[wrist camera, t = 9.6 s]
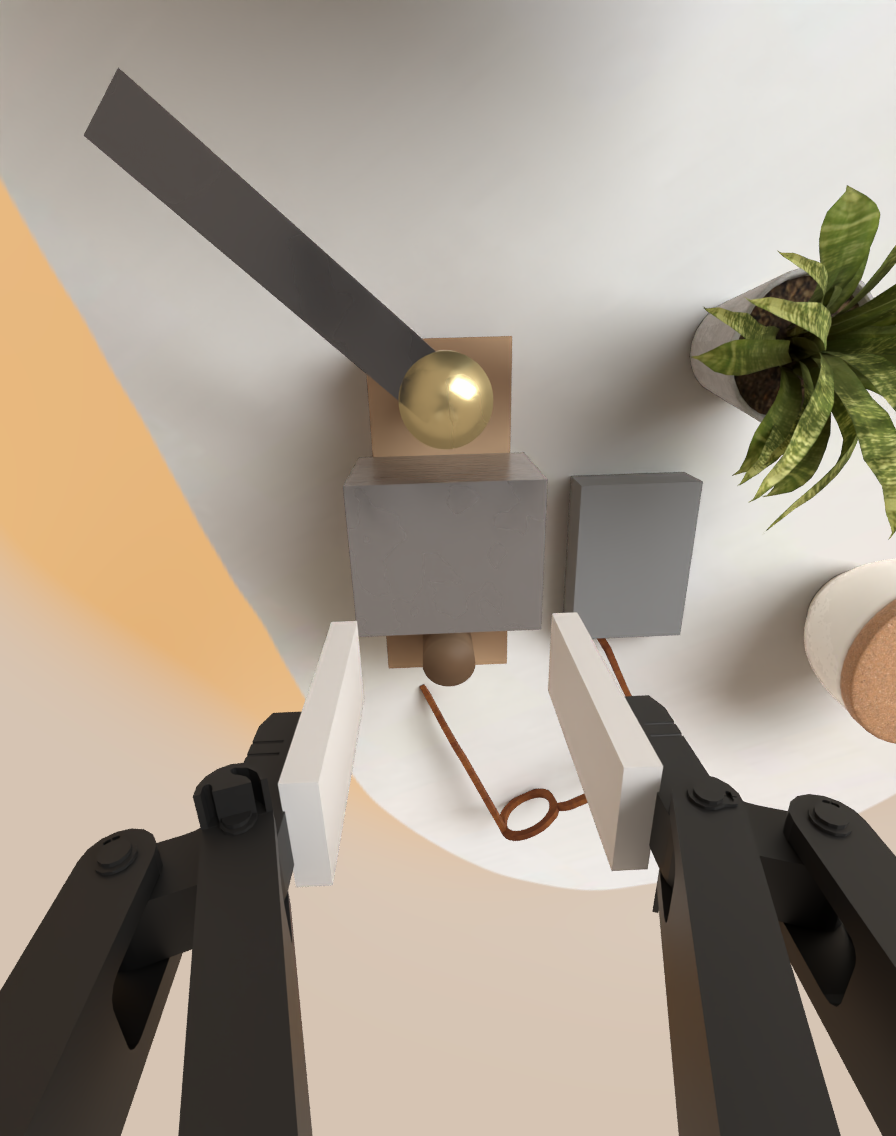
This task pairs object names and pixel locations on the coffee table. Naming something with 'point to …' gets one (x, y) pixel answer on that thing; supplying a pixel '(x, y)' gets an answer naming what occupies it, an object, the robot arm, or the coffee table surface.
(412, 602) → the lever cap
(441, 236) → the coffee table surface
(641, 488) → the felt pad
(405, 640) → the body
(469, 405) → the lever
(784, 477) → the house plant
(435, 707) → the glasses
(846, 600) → the lidded jar
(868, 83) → the coffee table surface
